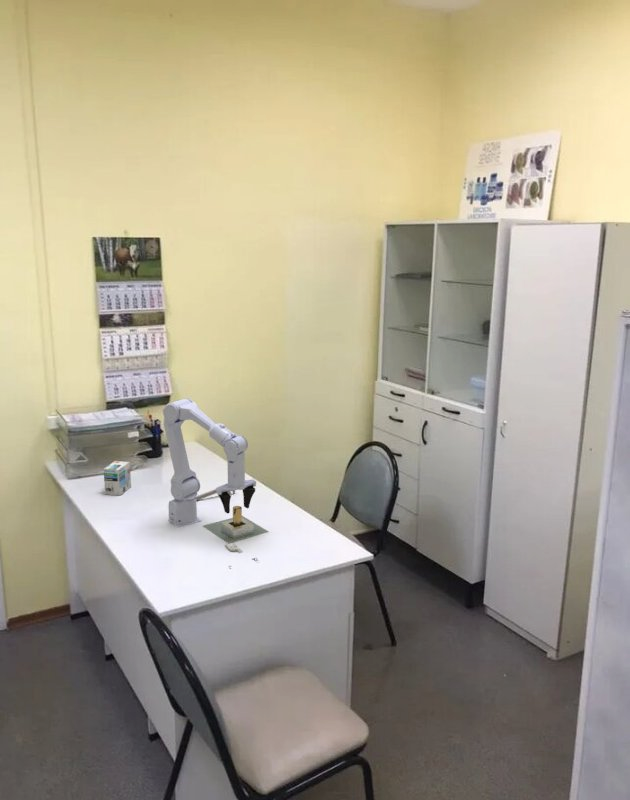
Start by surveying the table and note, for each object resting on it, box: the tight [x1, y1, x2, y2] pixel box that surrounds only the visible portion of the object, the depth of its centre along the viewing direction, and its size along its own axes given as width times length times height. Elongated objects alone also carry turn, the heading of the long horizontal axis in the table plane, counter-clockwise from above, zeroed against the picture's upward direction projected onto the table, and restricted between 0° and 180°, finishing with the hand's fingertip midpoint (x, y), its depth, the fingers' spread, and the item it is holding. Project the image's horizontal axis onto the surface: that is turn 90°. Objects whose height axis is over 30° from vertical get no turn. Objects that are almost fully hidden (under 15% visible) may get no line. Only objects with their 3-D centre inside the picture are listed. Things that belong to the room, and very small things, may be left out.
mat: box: [202, 515, 269, 545], centre depth 236 cm, size 16×18×1 cm
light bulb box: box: [103, 460, 132, 496], centre depth 272 cm, size 11×7×11 cm, turn 171°
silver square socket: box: [221, 518, 254, 539], centre depth 233 cm, size 8×8×3 cm
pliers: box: [224, 542, 260, 568], centre depth 217 cm, size 10×2×15 cm
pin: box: [232, 505, 243, 527], centre depth 233 cm, size 3×3×9 cm
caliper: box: [196, 483, 236, 502], centre depth 265 cm, size 20×1×6 cm, turn 121°
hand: (236, 509), depth 232 cm, fingers open, 7 cm apart
